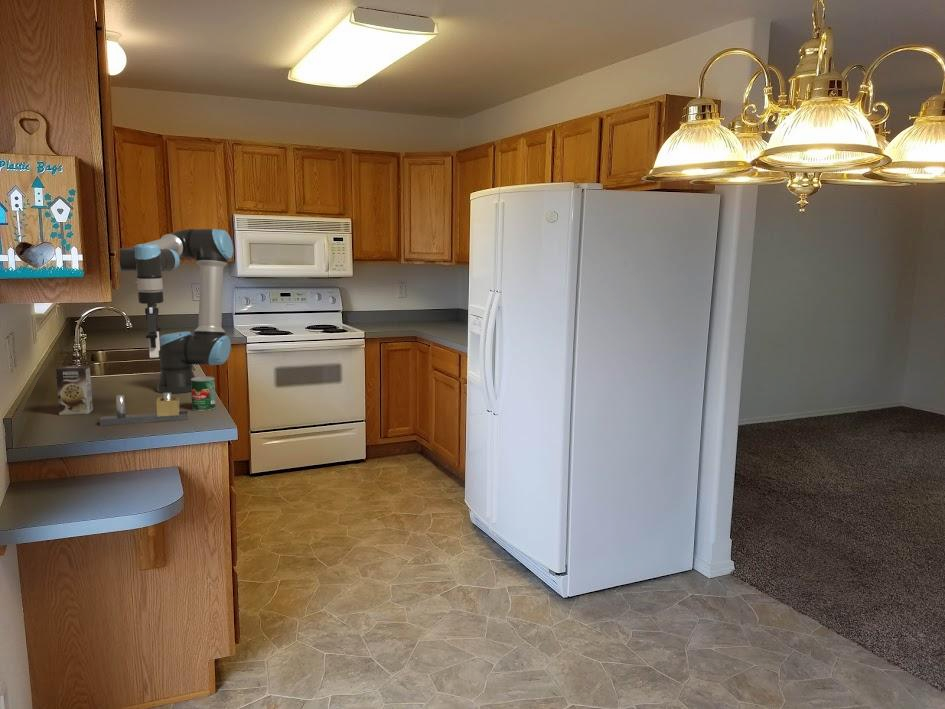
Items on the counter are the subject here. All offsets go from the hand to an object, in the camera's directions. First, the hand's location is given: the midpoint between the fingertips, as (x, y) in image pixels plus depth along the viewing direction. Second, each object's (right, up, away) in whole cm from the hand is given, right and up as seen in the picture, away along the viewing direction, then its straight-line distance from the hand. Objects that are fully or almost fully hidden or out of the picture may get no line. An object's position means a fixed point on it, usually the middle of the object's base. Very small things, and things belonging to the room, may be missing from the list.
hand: (155, 353), depth 228 cm
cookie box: (-29, -20, +4) cm, 36 cm away
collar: (+6, -20, -3) cm, 21 cm away
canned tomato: (+12, -20, +13) cm, 26 cm away
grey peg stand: (0, -22, -6) cm, 23 cm away
